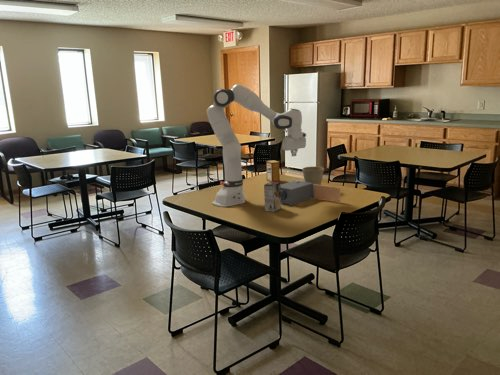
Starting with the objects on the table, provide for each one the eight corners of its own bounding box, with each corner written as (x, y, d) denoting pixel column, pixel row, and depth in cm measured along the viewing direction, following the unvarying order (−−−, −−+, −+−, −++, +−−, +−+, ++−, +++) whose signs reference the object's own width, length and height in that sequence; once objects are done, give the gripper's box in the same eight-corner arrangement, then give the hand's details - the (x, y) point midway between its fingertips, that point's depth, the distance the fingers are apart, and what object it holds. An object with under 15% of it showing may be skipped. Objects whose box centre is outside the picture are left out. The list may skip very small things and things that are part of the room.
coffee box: (272, 206, 249) (271, 181, 246) (281, 208, 246) (280, 182, 242) (264, 210, 242) (263, 184, 238) (274, 212, 239) (273, 185, 235)
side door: (340, 201, 254) (341, 187, 252) (339, 202, 252) (339, 188, 250) (314, 197, 267) (314, 183, 264) (312, 197, 265) (312, 184, 263)
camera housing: (289, 205, 250) (289, 188, 248) (272, 202, 260) (272, 185, 257) (313, 197, 266) (313, 181, 264) (296, 194, 276) (296, 179, 274)
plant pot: (310, 187, 296) (310, 165, 292) (328, 190, 286) (328, 167, 282) (298, 191, 286) (297, 168, 282) (315, 194, 275) (315, 171, 272)
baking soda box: (279, 181, 318) (279, 161, 314) (272, 182, 315) (271, 162, 312) (273, 179, 326) (273, 159, 323) (266, 180, 324) (266, 160, 320)
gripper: (288, 136, 249) (287, 158, 252) (307, 133, 264) (307, 154, 267) (280, 135, 253) (279, 157, 257) (300, 133, 268) (299, 153, 271)
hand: (293, 156), depth 262 cm, fingers closed
